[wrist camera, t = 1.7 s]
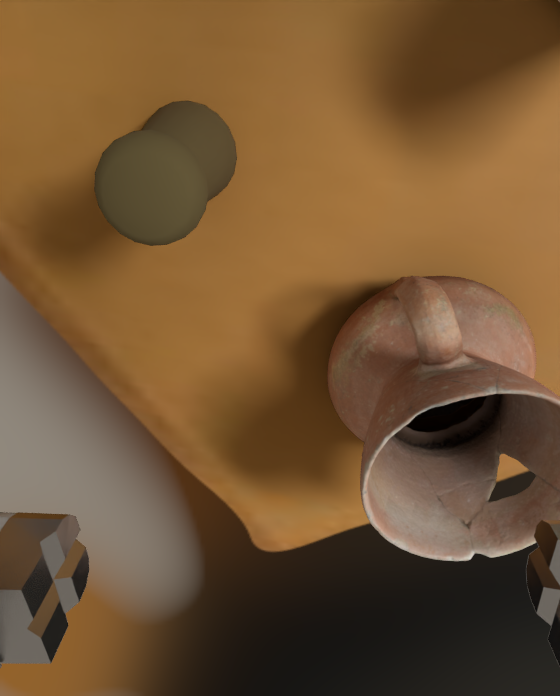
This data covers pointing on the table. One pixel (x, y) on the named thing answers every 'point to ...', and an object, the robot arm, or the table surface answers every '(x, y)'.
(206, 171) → the olive tapered rounded piece
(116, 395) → the table surface
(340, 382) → the ceramic jug
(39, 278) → the table surface
